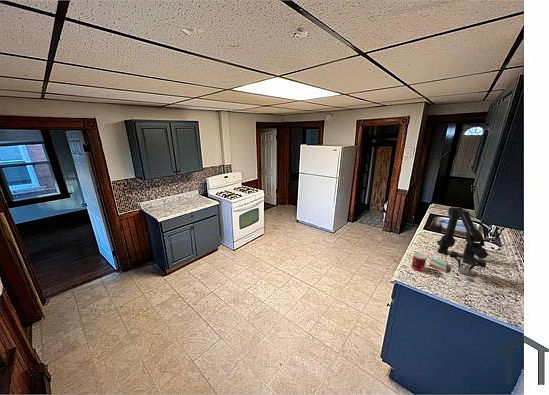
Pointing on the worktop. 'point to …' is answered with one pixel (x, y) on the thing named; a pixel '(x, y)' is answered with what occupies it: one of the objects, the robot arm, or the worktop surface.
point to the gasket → (469, 279)
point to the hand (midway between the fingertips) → (464, 269)
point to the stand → (438, 264)
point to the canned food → (418, 261)
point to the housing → (464, 268)
